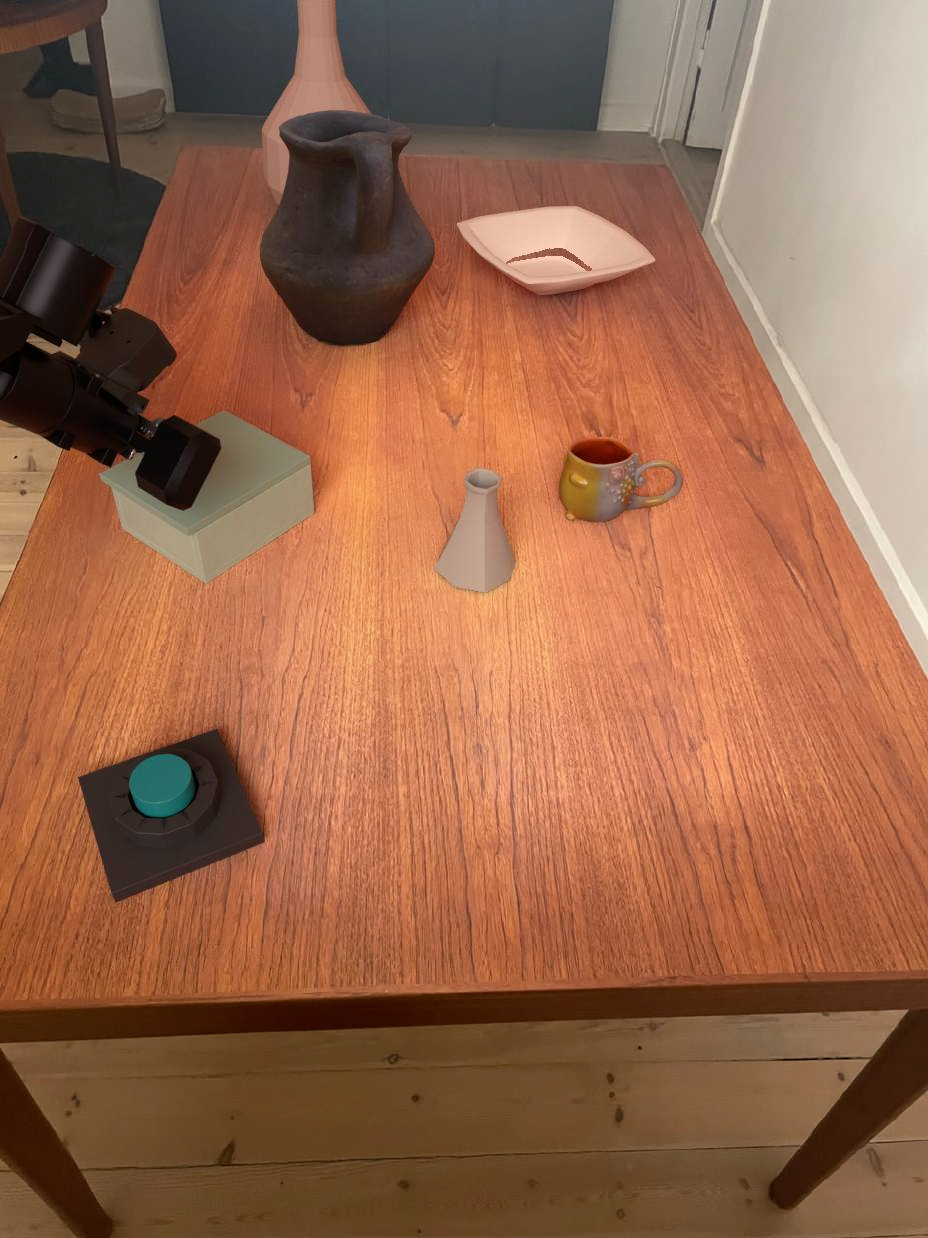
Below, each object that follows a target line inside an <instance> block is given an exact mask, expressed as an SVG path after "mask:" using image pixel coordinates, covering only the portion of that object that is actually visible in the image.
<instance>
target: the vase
mask: <svg viewBox="0 0 928 1238" xmlns="http://www.w3.org/2000/svg"><path fill="white" fill-rule="evenodd" d="M296 3H297V4H296V5H297V21H298V23H297V24H298V39H297V48H296V55H295V65H294V73H293V75H292V77H291V79H290V80H289V82H288V84H287V85H286V87H285V89H284V90H283V92H282V93H281V95H280V96H279V98H278V100H277V102H276V103H275V105H274V106H273V108H272V110H271V112H269V115H268V116H267V118H266V119H265V121H264V123H263V125H262V128H261V142H262V145H261V146H262V163H263V164H262V166H263V179H264V181H265V183H266V186H267V188H268V190H269V192H270V195H271V196H272V198H273V200H274V202H275V204H276V205H277V207H278V206H279V204H280V201H281V199H282V195H283V192H284V188H285V184H286V179H287V175H288V167H289V151H288V149H287V147H286V145H285V144H284V142H283V141H282V139H281V137H280V136H279V126H280V125H281V124H282V123H284V122H285V121H287V120H289V119H291V118H294V117H296V116H300V115H305V114H308V113H313V112H319V111H328V110H347V111H354V112H361V113H367V114H372V112H371V111H370V110H369V108H368V107H367V105H366V103H365V102H364V101H363V99H362V98H361V96H360V95H359V93H358V92H357V90H356V89H355V88H354V86H353V85H352V83H351V82H350V80H349V79H348V77H347V75H346V72H345V66H344V62H343V57H342V52H341V48H340V42H339V38H338V33H337V10H336V9H337V6H336V5H337V4H336V0H296Z"/></svg>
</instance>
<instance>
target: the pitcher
mask: <svg viewBox="0 0 928 1238" xmlns="http://www.w3.org/2000/svg"><path fill="white" fill-rule="evenodd" d="M412 135H413V134H412V131H411V129H410V128H409V127H408V126H407V125H404V124H402V123H400V122H398V121H394V120H390V119H388V117H387V118H386V117H383V116H381V115H377V114H373V113H371V114H367V113H361V112H354V111H347V110H328V111H319V112H313V113H308V114H305V115H300V116H296V117H294V118H291V119H289V120H287V121H285V122H284V123H282V124H281V125H280V126H279V136H280V137H281V139H282V141H283V142H284V144H285V145H286V147H287V149H288V151H289V167H288V175H287V179H286V184H285V188H284V192H283V195H282V199H281V201H280V204H279V206H278V205H277V207H276V210H275V212H274V214H273V215H272V218H271V219H270V221H269V224H267V227H266V228H265V229H264V231H263V234H262V236H261V240H260V245H259V259H260V264H261V268H262V270H263V272H264V275H265V276H266V278H267V280H268V281H269V282H270V285H271V286H272V287H273V289H274V291H275V292H276V293H277V295H278V296H279V297H280V299H281V300H282V301H283V303H284V305H285V306H286V308H287V311H289V313H290V314H291V316H292V317H293V318H294V320H295V322H296V324H297V325H298V326H299V327H300V328H301V330H303V331H304V332H305V333H306V334H308V335H309V336H311V337H313V338H314V339H316V340H317V341H318V342H323V343H327V344H329V345H337V346H352V345H353V346H354V345H366V344H371V343H375V342H378V341H380V340H381V339H382V338H384V337H385V336H386V335H387V333H388V332H389V331H390V330H391V329H392V327H393V326H394V325H395V323H396V322H397V320H398V319H399V317H400V315H401V314H402V312H403V311H404V309H405V307H406V305H407V304H408V302H409V300H410V299H411V297H412V295H413V293H414V292H415V291H416V289H417V288H418V286H420V284H421V282H422V281H423V280H424V278H425V276H426V275H427V273H428V272H429V270H430V269H431V268H432V265H433V262H434V259H435V253H436V246H435V245H436V244H435V241H434V238H433V236H432V232H431V231H430V230H429V229H428V227H427V225H426V224H425V222H424V221H423V219H422V217H421V216H420V214H419V213H418V210H417V209H416V207H415V206H414V204H413V202H412V199H411V198H410V196H409V194H408V193H409V192H407V189H406V187H405V185H404V181H403V179H402V176H401V173H400V169H399V161H400V155H401V153H402V152H403V150H404V148H405V147H406V146H407V145H409V143H410V141H411V140H412Z"/></svg>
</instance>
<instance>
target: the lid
mask: <svg viewBox="0 0 928 1238" xmlns="http://www.w3.org/2000/svg"><path fill="white" fill-rule="evenodd" d="M194 425H195V426H197V427H199V428H201V429H203V430H204V431H206V432H208V433H210V434H211V435H213V436H215V437H217V438H219V439H220V443H221V450H220V452H219V454H218V456H217V458H216V460H215V462H214V464H213V466H212V469H211V471H210V473H209V474H208V476H207V478H206V480H205V482H204V484H203V486H202V488H201V490H200V492H199V493H198V495H197V497H196V499H195V501H194V503H193V505H192V507H191V508H189V509H187V510H184V511H182V510H179V509H176V508H174V507H171V506H168V505H166V504H164V503H163V502H161V501H160V500H158V499H156V498H155V497H153V496H152V495H150V494H148V493H147V492H145V491H144V490H142V489H140V488H139V487H138V484H137V480H136V476H135V472H136V470H137V468H138V466H139V464H140V462H141V460H142V458H143V456H142V455H141V453H136V454H135V455H134V457H133V459H132V460H128V459H125V460H123V461H121V462H119V463H117V464H115V465H112V466H111V467H109V468H107V469H105V470H104V471H101V472H99V473H98V475H99V479H100V481H101V482H102V483H104V484H105V485H107V486H108V487H110V488H111V487H112V488H113V489H115V490H116V491H118V492H119V493H121V494H123V495H124V496H126V497H127V498H129V499H130V500H132V501H134V502H135V503H137V504H138V505H140V506H141V507H143V508H145V509H146V510H148V511H149V512H151V513H153V514H154V515H156V516H157V517H159V518H160V519H162V520H164V521H165V522H167V523H168V524H170V525H171V526H173V527H175V528H176V529H178V530H179V531H181V532H182V533H184V534H186V535H187V536H189V535H191V534H193V533H194V532H196V531H198V530H199V529H201V528H203V527H204V526H206V525H208V524H209V523H211V522H213V521H214V520H216V519H218V518H219V517H221V516H223V515H224V514H226V513H228V512H230V511H231V510H233V509H235V508H236V507H238V506H240V505H241V504H243V503H245V502H246V501H248V500H250V499H251V498H253V497H255V496H256V495H258V494H260V493H261V492H263V491H265V490H266V489H268V488H270V487H271V486H273V485H275V484H276V483H278V482H280V481H281V480H283V479H285V478H286V477H288V476H290V475H291V474H293V473H295V472H296V471H298V470H300V469H301V468H303V467H305V466H307V465H308V464H311V456H310V454H307V453H305V452H303V451H301V450H299V449H298V448H296V447H294V446H292V445H290V444H288V443H287V442H285V441H283V440H281V439H279V438H277V437H276V436H274V435H272V434H270V433H268V432H267V431H264V430H263V429H260V428H259V427H257V426H255V425H253V424H251V423H249V422H248V421H246V420H244V419H242V418H240V417H238V416H237V415H235V414H233V413H231V412H229V411H227V410H225V409H223V410H222V411H219V412H217V413H216V414H213V415H211V416H209V417H208V418H206V419H204V420H202V421H199V422H198V423H196V424H194ZM153 434H154V433H153ZM145 436H146V437H148V438H149V437H150V435H148V434H146V433H145ZM112 488H111V489H112Z"/></svg>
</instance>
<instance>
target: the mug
mask: <svg viewBox="0 0 928 1238" xmlns="http://www.w3.org/2000/svg"><path fill="white" fill-rule="evenodd" d="M566 451H567V452H566V454H565V456H564V457H563V467H562V470H561V473H560V477H559V481H558V496H559V500H560V502H561V504H562V506H563V508H564V510H565V511H566V512H565V519H566V520H568V521H577V520H581V521H584V522H593V523H602V522H608V521H611V520H614V519H617V517H619V516H620V515H621V514H622V513H624V512H626V511H632V510H639V509H646V508H647V509H648V508H652V507H653V508H654V507H657V506H660V505H662V504H664V503H667V502H669V501H670V500H672V499H673V498H675V497H676V496H677V495H678V494H679V493H680V492H681V490H682V488H683V484H684V475H683V473H682V471H681V469H680V468H679V466H677V464H675V463H673V462H672V461H670V460H668V459H665V458H655V459H651V460H648V461H646V462H644V463H642V464H639V463H640V455H639V453H638V452H637V451H636V450H635V451H634V450H633V449H632V448H631V447H629V446H628V445H627V444H626V443H624V442H623V441H621V440H619V439H616V438H614V437H612V436H592V437H584V438H579V439H577V440H575V441H574V442H573V443H571V444H570V445H569V446H568V448H567V450H566ZM653 468H665V469H667V470H669V471H670V472H671V473H672V474H673V477H674V480H673V481H674V482H673V484H672V486H671V487H670V488H669V489H667V490H666V491H665V492H664V493H661V494H657V495H650V496H643V495H638V494H637V493H636V492H635V489H636V488H641V487H643V486H645V484H646V478H645V475H643V473H644V472H646V471H647V470H649V469H653Z"/></svg>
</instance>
